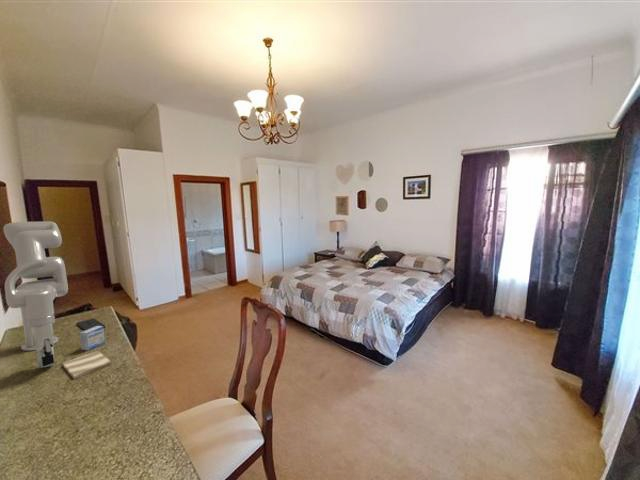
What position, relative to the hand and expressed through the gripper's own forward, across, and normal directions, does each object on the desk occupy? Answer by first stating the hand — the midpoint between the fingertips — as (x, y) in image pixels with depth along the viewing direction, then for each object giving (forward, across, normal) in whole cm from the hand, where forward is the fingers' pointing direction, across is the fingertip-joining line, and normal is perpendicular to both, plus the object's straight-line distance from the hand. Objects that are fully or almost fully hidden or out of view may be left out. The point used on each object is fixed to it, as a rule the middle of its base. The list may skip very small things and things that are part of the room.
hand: (46, 361), depth 111 cm
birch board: (+2, +11, +10) cm, 15 cm away
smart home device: (+4, -37, +24) cm, 44 cm away
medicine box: (+3, -7, +17) cm, 18 cm away
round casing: (+1, 0, 0) cm, 1 cm away
